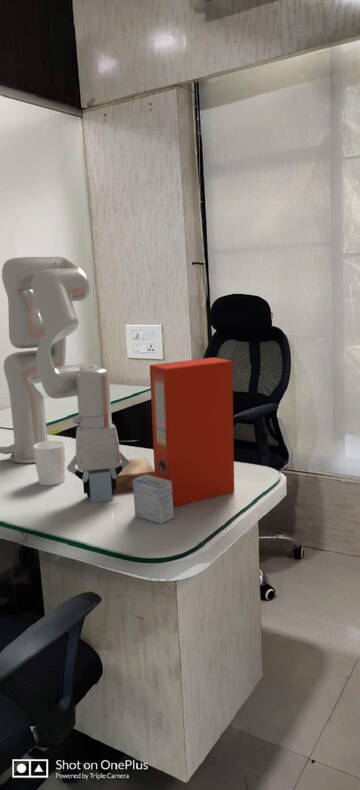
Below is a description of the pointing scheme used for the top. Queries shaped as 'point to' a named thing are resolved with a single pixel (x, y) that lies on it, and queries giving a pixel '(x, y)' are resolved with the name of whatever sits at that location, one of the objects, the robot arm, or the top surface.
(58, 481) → the white cup
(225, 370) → the file binder
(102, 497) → the block
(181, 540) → the top surface
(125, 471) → the pedestal
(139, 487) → the medicine box
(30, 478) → the top surface
